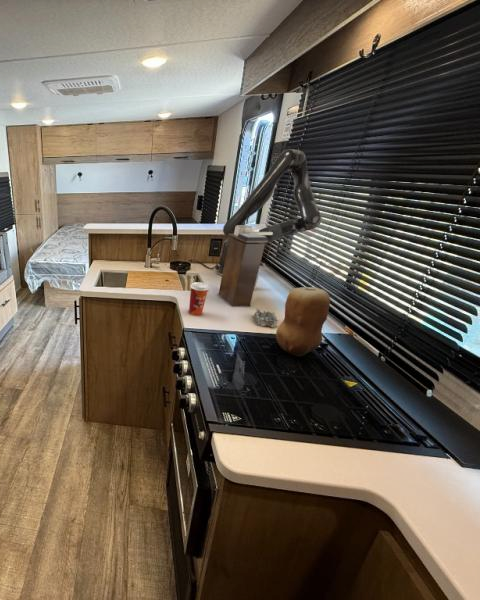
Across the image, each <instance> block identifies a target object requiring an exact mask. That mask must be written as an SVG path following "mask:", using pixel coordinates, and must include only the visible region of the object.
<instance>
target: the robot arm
mask: <svg viewBox="0 0 480 600" xmlns="http://www.w3.org/2000/svg"><path fill="white" fill-rule="evenodd" d="M288 171H289V172H290V174H291V176H292V178H293V183H294V185H293V198H294V201H295V205H296V206H297V209H298V211H299V214H300V217H299V218H297V219H288V220H285V221H282V222H279V223H276V224H275V223H274V224H272V225H269V226H266V227H263V228H261V229H259V230H258V232H273V234H272V235H265V237H268V238H267V240H268V242H261V243H264V244H265V245H266V244H268V243H271V242H274V241H278V240H280V239H282V238H285V237H288V236H292V235H294V234H298V233H302V232H307V231H311V230H313V229H314V230H315V229H316V228H317V227H319V226H320V225H321V223H322V214H321V212H320V209H319V207H318V204H317V201H316V199H315V194H314V193H313V190H312V186H311V183H310V178H309V171H308V163H307V157H306V154H305V152H304V151H302V150H300V149H294V148H287V149H285V150H283V151H282V152H281V153H280V154H279V155H278V156H277V157H276V159H275V160H274V162H273V163H272V165H271V167H270V168H269V169H268V171H267V172H266V174H265V175H264V176H263V178H262V179H261V180H260V182H259V183H258V184H257V185H256V187H255V188H254V189H253V190H252V191H251V192H250V194H249V195H248V196H247V198H246V199H245V201H244V202H243V203H242V204H241V205H240V207H239V208H238V209H237V210H236V211H235V213H234V214H233V215H232V216H231V217H230V218H229V219H228V220H227V221H226V222H225V224H224V225H223V228H222V232H223V235H224V236H226V237H227V238H226V239H225V240H224V241H223V243H222V248H221V253H220V257H219V262H218V264H217V263H216V264H215V265H214V266H213V267H209V266H208V265H206V264H205V263H203V262H201V261H199V260H197V259H195V260H196V261H195V262H197V263H199V264H201V265H202V266H203V267H205V268H207V269H210V270H216V271H217V275H219V276H222V273H223V268H224V263H225V258H226V253H227V247H228V242H229V237H231V236H229V235H228V234H234V232H235V226H237V225H246V224H245V222H246V221H247V220H248V219H250V217H252V216H253V215H254V214H256V213H258V212H259V210H261V209H262V208H263V206H265V205H266V204H267V203H268V202H269V200H270V199H271V197H273V194H274V192H275V188H276V185H277V184H278V181H279V180H280V179H281V177H283V175H285V173H286V172H288ZM189 262H193V260H192V259H190V260H189Z"/></svg>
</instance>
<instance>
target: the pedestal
mask: <svg viewBox="0 0 480 600" xmlns="http://www.w3.org/2000/svg"><path fill="white" fill-rule="evenodd" d="M228 235H229V236H231V237H229V242H228V247H227V253H226V258H225V263H224V268H223V273H222V275H221V279H220V284H219V290H218V293H217V294H218V296H219V297H220V298H222V299H223V300H224V301H225V302H226V303H228V304H229V305H230V306H231V307H250V306H251V303H252V300H253V296H254V291H255V290H254V287H255V283H256V279H257V275H259V269H260V266H261V262H262V258H263V255H264V250H265V246H266V243H265V244H264V243H262V242H268V240H267V241H246V240H244V239H241V238H239V237H238V236H237V235H234V234H228ZM268 243H269V242H268Z"/></svg>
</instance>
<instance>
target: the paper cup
mask: <svg viewBox="0 0 480 600" xmlns="http://www.w3.org/2000/svg"><path fill="white" fill-rule="evenodd" d="M209 289H210V288H209V284H207V283H205V282H201V281H195V282H192V283H191V285H190V294H189V306H188V307H189V308H188V314H190V315H192V316H196V317H199V316H202V314H203V311H204V307H205V304H206V299H207V293H208V290H209Z"/></svg>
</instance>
